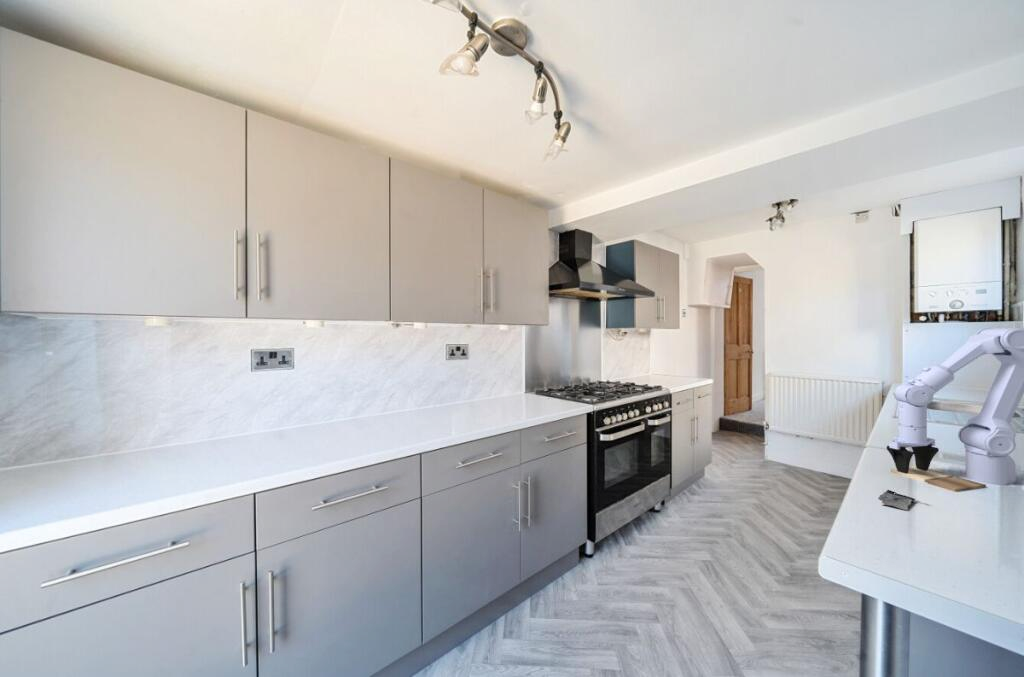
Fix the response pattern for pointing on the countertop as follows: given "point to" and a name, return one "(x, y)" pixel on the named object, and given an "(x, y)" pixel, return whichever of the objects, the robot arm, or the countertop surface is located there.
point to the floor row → (956, 484)
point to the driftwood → (896, 500)
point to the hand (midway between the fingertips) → (912, 471)
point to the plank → (922, 474)
